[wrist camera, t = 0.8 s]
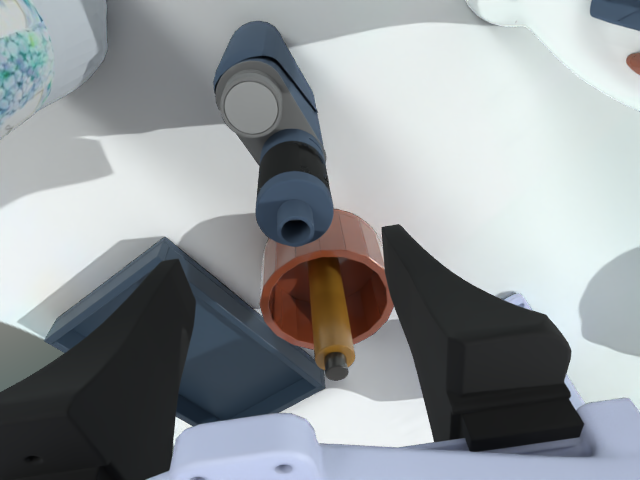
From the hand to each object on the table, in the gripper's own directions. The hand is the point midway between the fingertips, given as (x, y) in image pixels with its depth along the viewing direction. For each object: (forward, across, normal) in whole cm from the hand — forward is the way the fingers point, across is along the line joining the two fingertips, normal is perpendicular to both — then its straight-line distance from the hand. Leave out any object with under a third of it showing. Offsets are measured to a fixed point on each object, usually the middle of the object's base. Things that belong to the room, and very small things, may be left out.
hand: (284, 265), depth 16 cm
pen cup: (+10, -1, +8) cm, 13 cm away
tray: (+10, +9, +14) cm, 19 cm away
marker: (+10, -1, +8) cm, 12 cm away
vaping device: (+7, -1, -4) cm, 8 cm away
